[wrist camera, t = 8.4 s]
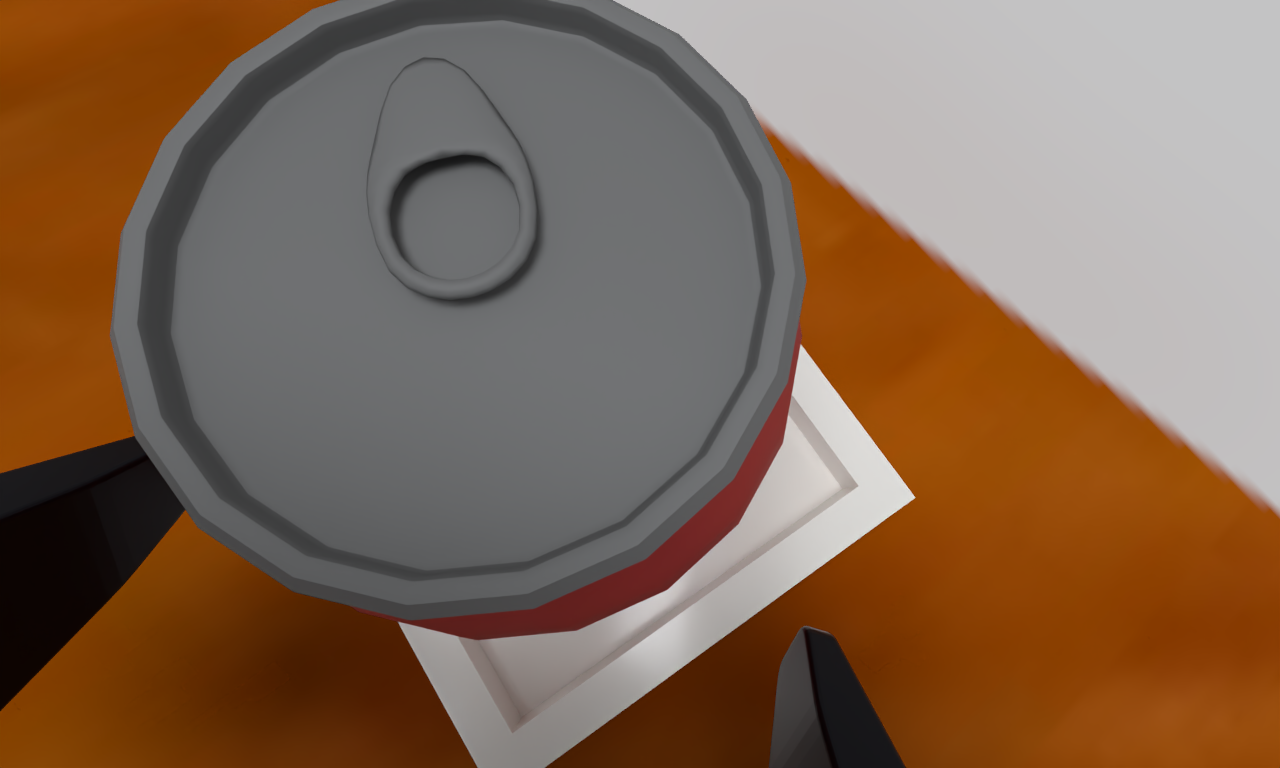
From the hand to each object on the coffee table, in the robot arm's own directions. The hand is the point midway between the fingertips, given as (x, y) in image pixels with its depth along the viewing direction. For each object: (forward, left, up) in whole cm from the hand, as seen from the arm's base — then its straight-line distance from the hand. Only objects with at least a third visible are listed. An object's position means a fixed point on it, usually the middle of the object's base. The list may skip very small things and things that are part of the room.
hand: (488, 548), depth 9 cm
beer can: (+2, -2, -8) cm, 8 cm away
